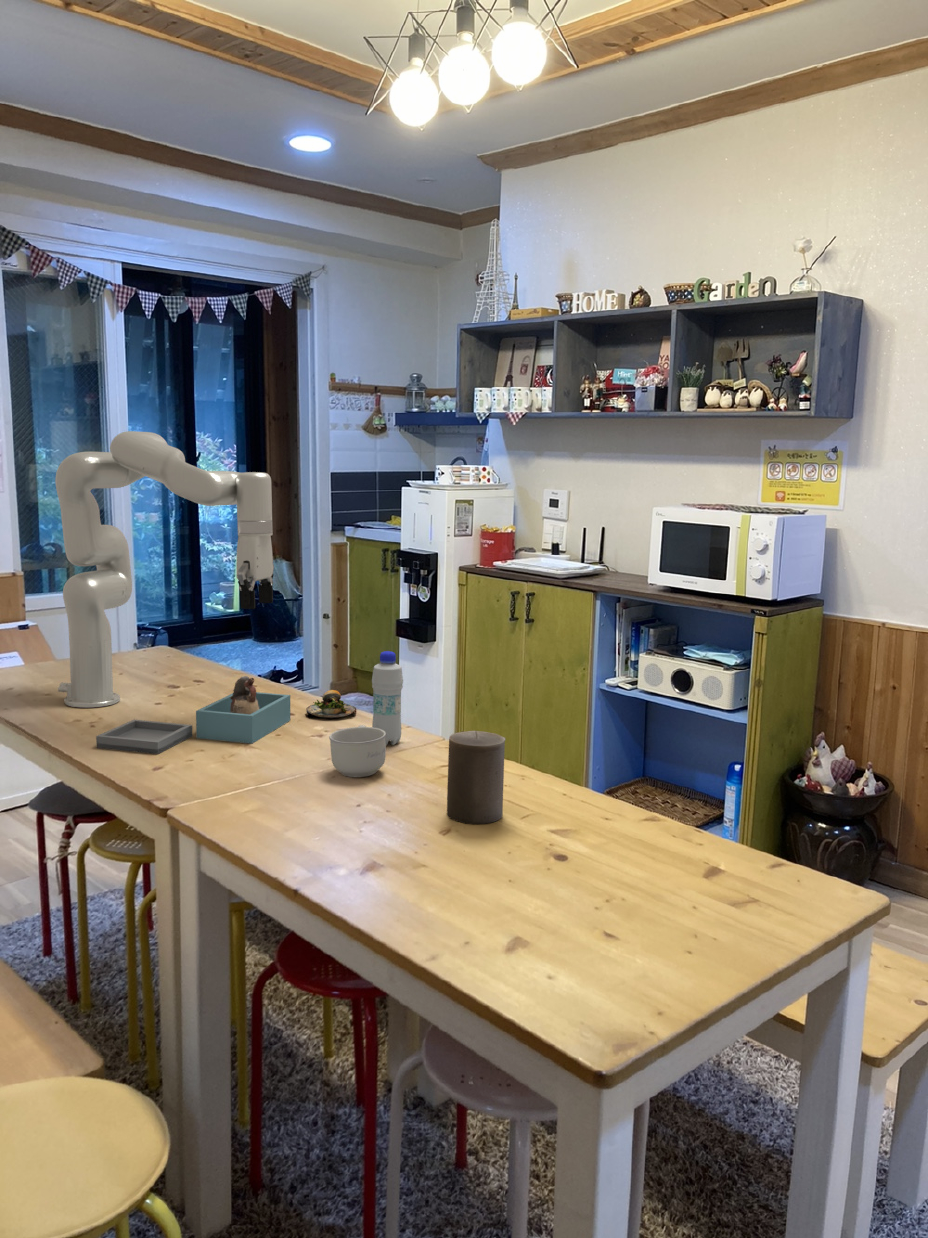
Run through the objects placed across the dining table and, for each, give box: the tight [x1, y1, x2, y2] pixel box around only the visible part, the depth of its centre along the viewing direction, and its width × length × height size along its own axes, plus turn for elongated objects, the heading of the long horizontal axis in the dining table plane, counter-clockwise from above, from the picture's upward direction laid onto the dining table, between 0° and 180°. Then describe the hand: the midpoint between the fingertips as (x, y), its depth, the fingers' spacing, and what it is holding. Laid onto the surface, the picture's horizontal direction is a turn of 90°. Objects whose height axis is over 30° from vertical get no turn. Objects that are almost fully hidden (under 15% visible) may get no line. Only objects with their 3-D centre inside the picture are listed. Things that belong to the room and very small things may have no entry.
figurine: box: [230, 675, 259, 715], centre depth 220 cm, size 7×7×12 cm
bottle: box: [371, 650, 404, 746], centre depth 212 cm, size 7×7×20 cm
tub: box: [195, 691, 291, 744], centre depth 221 cm, size 13×20×6 cm, turn 166°
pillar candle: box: [446, 730, 506, 825], centre depth 171 cm, size 10×10×15 cm
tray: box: [95, 718, 193, 755], centre depth 209 cm, size 14×14×2 cm
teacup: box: [328, 724, 387, 778], centre depth 194 cm, size 14×11×8 cm
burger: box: [305, 685, 357, 719], centre depth 235 cm, size 12×12×8 cm
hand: (257, 605), depth 222 cm, fingers open, 9 cm apart
